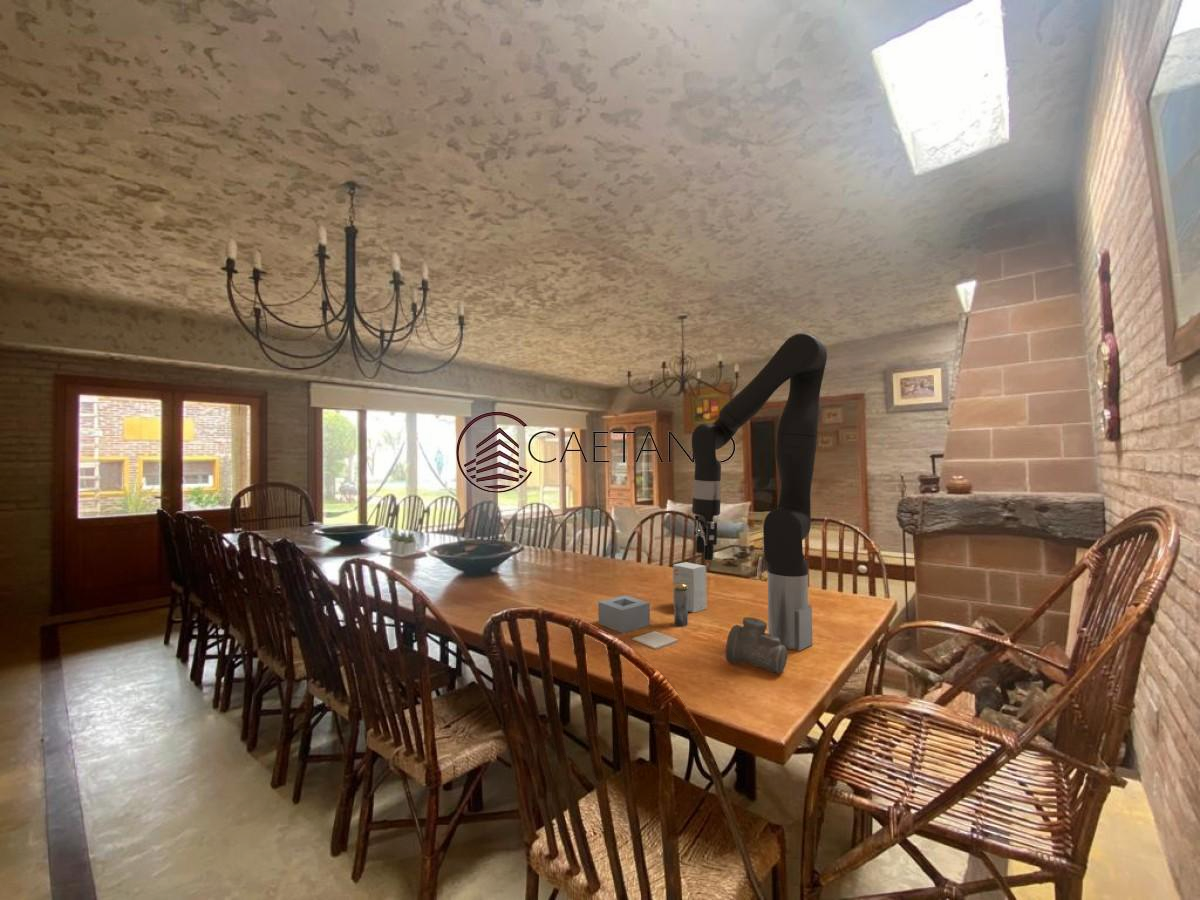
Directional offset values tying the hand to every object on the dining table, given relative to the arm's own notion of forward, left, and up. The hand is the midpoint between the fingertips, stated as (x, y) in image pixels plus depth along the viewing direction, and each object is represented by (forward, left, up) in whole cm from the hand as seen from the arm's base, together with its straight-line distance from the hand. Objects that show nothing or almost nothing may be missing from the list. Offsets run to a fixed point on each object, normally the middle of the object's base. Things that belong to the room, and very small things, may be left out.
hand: (703, 556), depth 133 cm
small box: (+12, -8, -19) cm, 24 cm away
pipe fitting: (-25, +13, -19) cm, 34 cm away
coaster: (0, +19, -19) cm, 26 cm away
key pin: (+4, +5, -19) cm, 20 cm away
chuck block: (+14, +17, -19) cm, 29 cm away
